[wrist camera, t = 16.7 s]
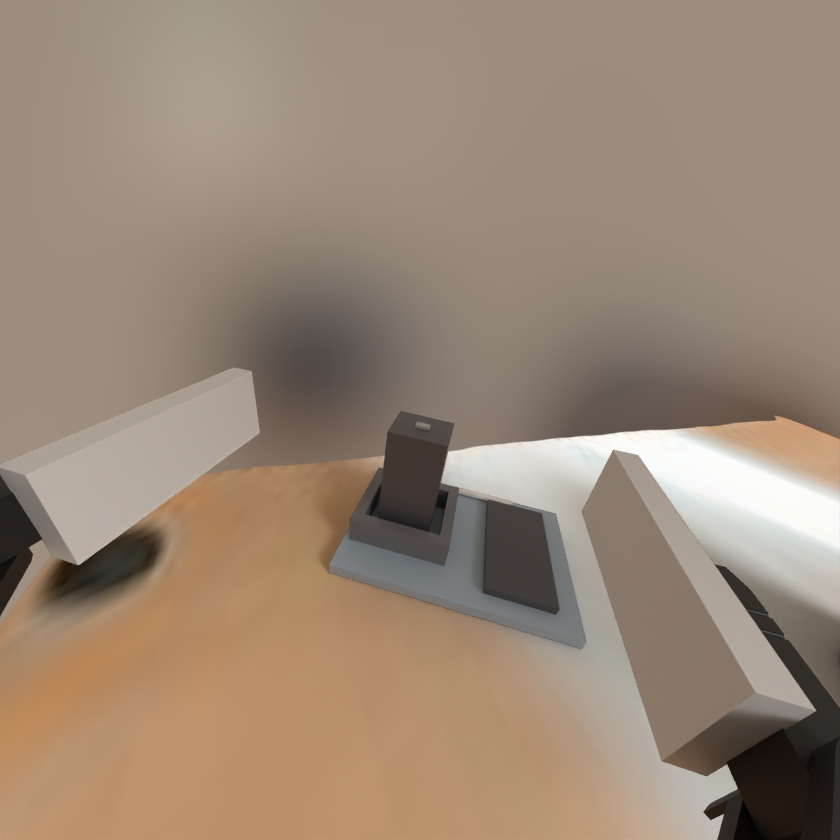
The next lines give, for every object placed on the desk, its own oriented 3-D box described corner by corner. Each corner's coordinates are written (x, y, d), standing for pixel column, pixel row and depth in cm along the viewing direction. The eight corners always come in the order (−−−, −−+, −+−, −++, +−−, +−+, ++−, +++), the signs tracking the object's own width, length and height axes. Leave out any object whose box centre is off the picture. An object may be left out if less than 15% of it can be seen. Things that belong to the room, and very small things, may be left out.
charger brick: (433, 513, 34) (455, 421, 28) (426, 542, 30) (449, 443, 25) (388, 501, 34) (401, 408, 29) (376, 528, 31) (388, 428, 25)
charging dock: (552, 519, 37) (563, 497, 35) (581, 648, 25) (599, 623, 23) (380, 475, 39) (383, 452, 38) (328, 572, 27) (329, 544, 25)
